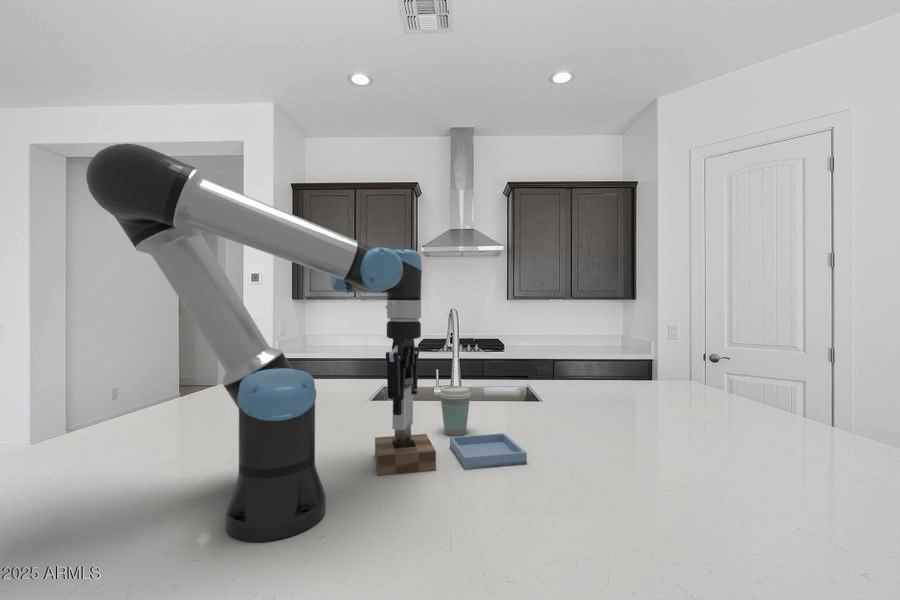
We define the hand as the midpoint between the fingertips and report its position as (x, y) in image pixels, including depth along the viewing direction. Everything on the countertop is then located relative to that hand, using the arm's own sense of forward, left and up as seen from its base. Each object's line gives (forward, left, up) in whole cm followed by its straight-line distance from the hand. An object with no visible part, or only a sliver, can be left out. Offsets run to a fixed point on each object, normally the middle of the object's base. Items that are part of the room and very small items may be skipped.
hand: (402, 426), depth 93 cm
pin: (0, 0, -6) cm, 6 cm away
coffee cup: (+18, -16, -8) cm, 26 cm away
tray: (0, -19, -8) cm, 21 cm away
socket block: (0, 0, -8) cm, 8 cm away
